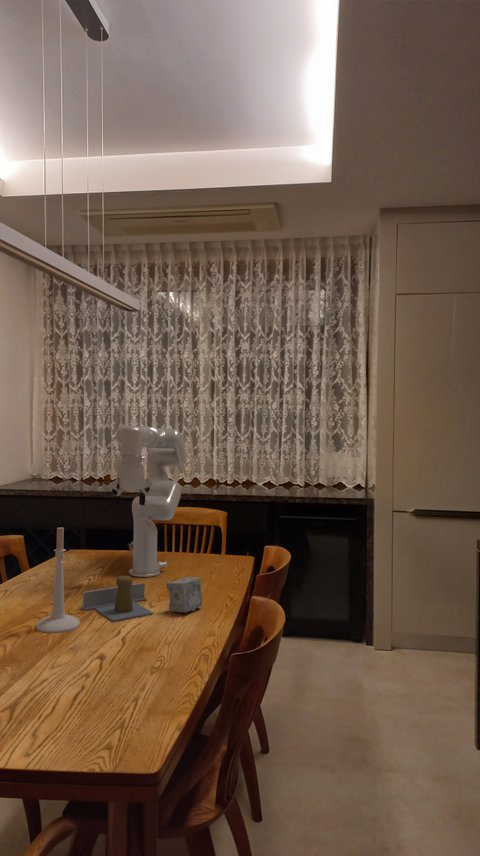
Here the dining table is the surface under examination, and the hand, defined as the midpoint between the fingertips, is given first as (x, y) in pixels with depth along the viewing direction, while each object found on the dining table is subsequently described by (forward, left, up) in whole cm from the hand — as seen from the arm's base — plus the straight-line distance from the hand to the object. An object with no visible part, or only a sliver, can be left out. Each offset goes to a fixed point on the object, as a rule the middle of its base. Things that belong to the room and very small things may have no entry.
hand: (130, 505), depth 223 cm
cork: (+14, +26, -30) cm, 42 cm away
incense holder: (-4, +34, -31) cm, 46 cm away
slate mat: (+14, +26, -30) cm, 42 cm away
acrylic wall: (+13, +17, -30) cm, 37 cm away
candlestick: (+36, +27, -31) cm, 54 cm away
